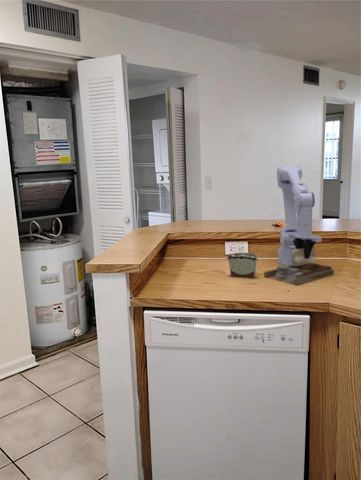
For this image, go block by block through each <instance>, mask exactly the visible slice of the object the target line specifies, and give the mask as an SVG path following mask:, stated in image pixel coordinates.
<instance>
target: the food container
mask: <svg viewBox="0 0 361 480" xmlns="http://www.w3.org/2000/svg"><path fill="white" fill-rule="evenodd" d="M226 260H228V264H229V272H230V278H243V279H252V280H253V279H255V277H256V268H257V262H258V261H259V260H258V256H257V254H256V253H251V252H234V253H233V252H232V253H229V254H228V255H227V258H226Z"/></svg>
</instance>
